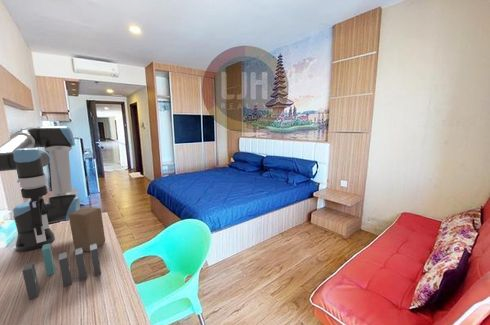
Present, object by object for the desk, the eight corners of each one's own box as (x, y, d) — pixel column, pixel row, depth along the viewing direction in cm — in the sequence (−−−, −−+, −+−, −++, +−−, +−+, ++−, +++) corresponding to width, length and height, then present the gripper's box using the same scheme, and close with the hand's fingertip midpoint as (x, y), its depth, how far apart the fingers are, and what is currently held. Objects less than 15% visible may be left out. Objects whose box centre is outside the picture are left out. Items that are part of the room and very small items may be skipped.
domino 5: (93, 269, 96) (89, 245, 94) (100, 267, 98) (96, 243, 95) (94, 276, 92) (90, 250, 90) (101, 273, 94) (97, 248, 91)
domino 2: (47, 269, 96) (42, 245, 94) (55, 267, 98) (50, 243, 96) (46, 275, 93) (41, 250, 90) (54, 273, 94) (49, 248, 92)
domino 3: (64, 280, 90) (59, 254, 88) (71, 277, 91) (67, 251, 89) (63, 287, 86) (58, 260, 84) (71, 284, 88) (66, 257, 85)
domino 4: (79, 274, 93) (74, 249, 91) (86, 272, 94) (82, 247, 92) (79, 281, 89) (75, 255, 87) (87, 278, 91) (82, 252, 88)
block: (90, 252, 109) (84, 215, 105) (73, 250, 111) (67, 213, 107) (106, 241, 118) (101, 207, 114) (91, 240, 120) (85, 206, 116)
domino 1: (30, 291, 84) (24, 264, 82) (39, 288, 85) (33, 261, 83) (28, 300, 80) (22, 271, 78) (38, 296, 82) (31, 268, 79)
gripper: (25, 181, 95) (35, 226, 99) (13, 196, 76) (26, 251, 80) (48, 178, 100) (56, 221, 104) (42, 192, 80) (53, 244, 84)
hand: (43, 234), depth 92 cm, fingers open, 13 cm apart
